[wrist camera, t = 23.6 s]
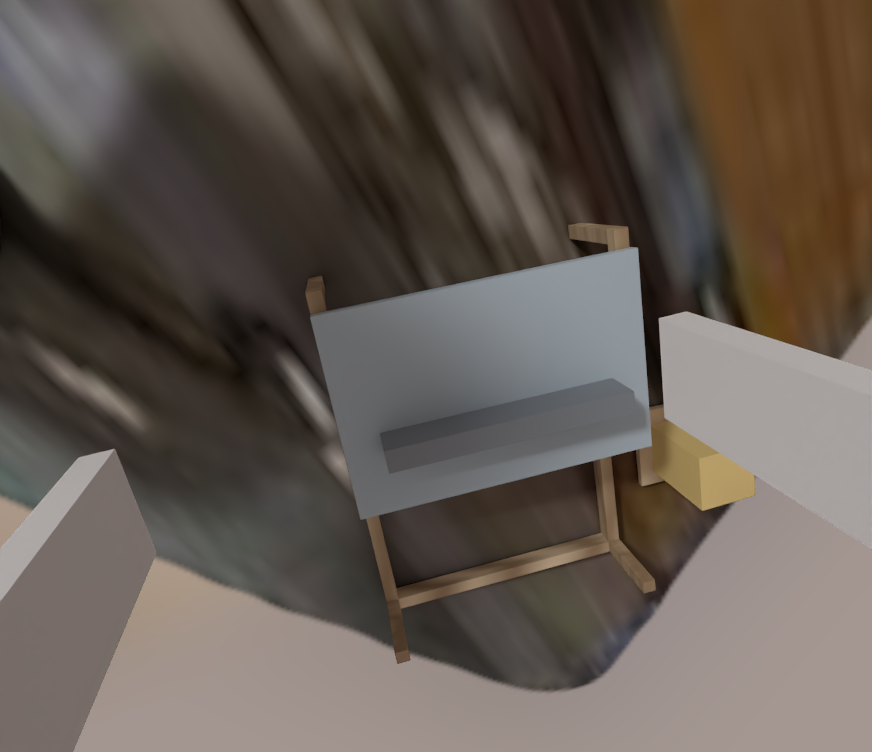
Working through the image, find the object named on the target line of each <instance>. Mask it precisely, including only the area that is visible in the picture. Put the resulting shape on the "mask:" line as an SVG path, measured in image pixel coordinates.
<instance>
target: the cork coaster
mask: <svg viewBox="0 0 872 752" xmlns="http://www.w3.org/2000/svg"><path fill="white" fill-rule="evenodd" d="M649 411H650V425H654V424H658V423H662V422H665V421H668V420H667V419H665V418H664V404H662V405H657V406H653V407H649ZM636 455H637V468H638V480H639V484H640V485H641V486H646V485H649V484H653V483H657V482H661V481H665V480H664V479H663V478H661V477H660V476H659V475H658V474H656V473H655V472H654V462H653V451H652V446H649V447H646V448H642V449H638V450H636Z"/></svg>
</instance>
